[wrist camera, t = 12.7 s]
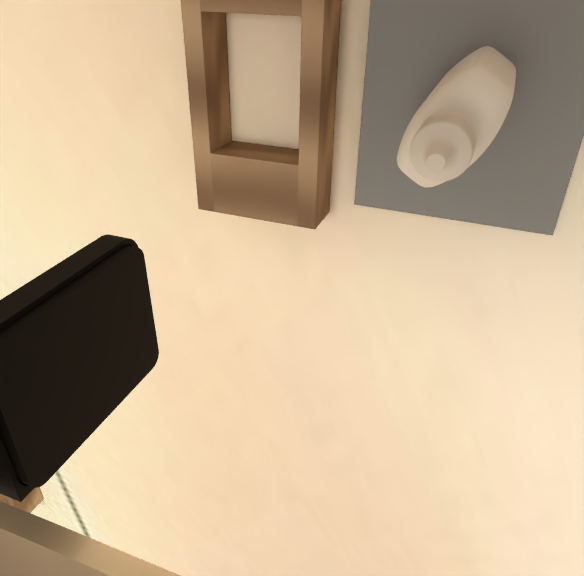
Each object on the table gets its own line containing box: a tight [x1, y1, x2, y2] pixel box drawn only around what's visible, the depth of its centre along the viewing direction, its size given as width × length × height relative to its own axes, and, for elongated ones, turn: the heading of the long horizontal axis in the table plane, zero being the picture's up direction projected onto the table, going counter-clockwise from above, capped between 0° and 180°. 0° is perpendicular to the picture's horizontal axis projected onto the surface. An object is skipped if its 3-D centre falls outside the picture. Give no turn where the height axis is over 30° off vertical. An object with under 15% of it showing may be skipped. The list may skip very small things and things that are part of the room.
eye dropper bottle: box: [397, 46, 516, 188], centre depth 24 cm, size 4×6×12 cm
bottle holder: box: [181, 0, 341, 229], centre depth 31 cm, size 16×8×3 cm, turn 179°
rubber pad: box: [354, 0, 584, 235], centre depth 29 cm, size 14×12×1 cm
